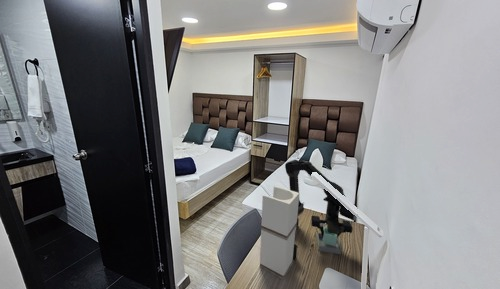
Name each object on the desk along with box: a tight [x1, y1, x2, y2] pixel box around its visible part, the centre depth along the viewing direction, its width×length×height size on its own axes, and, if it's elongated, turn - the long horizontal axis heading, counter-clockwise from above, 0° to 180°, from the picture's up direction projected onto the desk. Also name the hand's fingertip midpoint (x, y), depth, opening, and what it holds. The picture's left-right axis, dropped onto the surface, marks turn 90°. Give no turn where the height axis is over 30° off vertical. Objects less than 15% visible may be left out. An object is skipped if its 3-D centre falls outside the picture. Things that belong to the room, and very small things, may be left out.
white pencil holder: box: [259, 185, 300, 280], centre depth 86 cm, size 11×11×35 cm
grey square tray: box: [316, 231, 343, 255], centre depth 103 cm, size 10×10×3 cm
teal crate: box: [322, 226, 337, 245], centre depth 102 cm, size 6×6×5 cm
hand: (328, 238), depth 102 cm, fingers closed on teal crate, 6 cm apart
